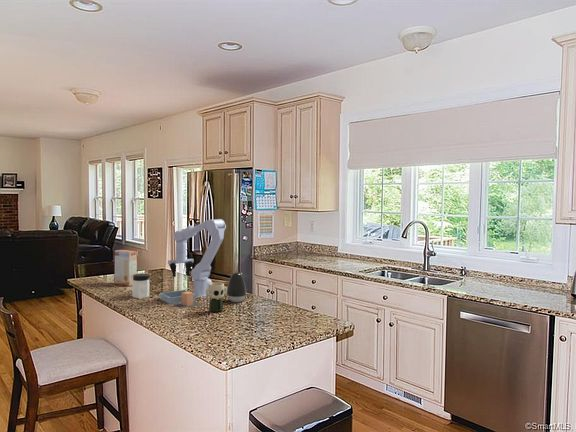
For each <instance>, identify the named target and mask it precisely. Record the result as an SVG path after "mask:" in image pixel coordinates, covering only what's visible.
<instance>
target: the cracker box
mask: <svg viewBox="0 0 576 432" xmlns="http://www.w3.org/2000/svg"><path fill="white" fill-rule="evenodd" d="M137 252H138V251H137V250H129V249H117V250H114V284H115V285H120V286H126V287H132V281H133V275H134V274H138V273H137V272H138V271H137V270H138V266H137V265H138V262H137V261H138V257H137V256H138V253H137Z"/></svg>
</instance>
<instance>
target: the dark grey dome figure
mask: <svg viewBox="0 0 576 432" xmlns="http://www.w3.org/2000/svg"><path fill="white" fill-rule="evenodd" d="M226 287H227V293H226V296H227V299H228V301H230V302H232V303H241V302H243V301H244V300H245V299H246V296H247V288H246V283H245V280H244V277H243V272H238V271H237V272H234V273H232V275H231V276H230V278H229V281H228V284H227V286H226Z"/></svg>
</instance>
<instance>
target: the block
mask: <svg viewBox="0 0 576 432" xmlns="http://www.w3.org/2000/svg"><path fill="white" fill-rule="evenodd" d="M186 291H187V292H183V293H181V305H185V306H189V305H193V294H194V291H193V292H192V291H188V290H186Z"/></svg>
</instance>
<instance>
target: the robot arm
mask: <svg viewBox="0 0 576 432" xmlns="http://www.w3.org/2000/svg"><path fill="white" fill-rule="evenodd" d="M226 229H227V225H226V223H225V220H224V219H222V218H218V219H217V218H216V219H207V220H204V221H203V222H201V223H199V224H197V225H195V226H194V225H188V226H187V227H186V228H181V230H176V231H175V232H174V233H173V239H174V241H175V259H172V260H171V259H170V260H167V265H168V266H169V267H170V270H171V273H172V276H173V277H174V278H176V276H177V275H176V274H177V264H185V265H184V266H185V276H189V275H190V276H191V278H192V280H193V294H195V295H196V298H199V297H207V296H206V289H209V284H210V283H213V282H212V279H210V278H209V277H210V276H211V270H212V266H211V264H212V262H213V260H214V259H215V256H216V254H217V253H218V251H219V248H220V247H221V244H222V243H223V241H224V237H225V230H226ZM203 230H207V232H208V233H209V236H210V237H211V240H210V243H209V244H208V246H207V247H206V248H207V249H206V250H205V251H204V254H203V255H202V258H201V259H200V262H199V263H197V264H195V266H194V268H192V267H193V265H194V264H193V263H194V261H195V260H194V258H187V244H188V240H189V239H190V238H192V237H195V236H196V235H197V234H198V233H199V232H201V231H203ZM191 268H192V269H191ZM208 294H209V291H208Z"/></svg>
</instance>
